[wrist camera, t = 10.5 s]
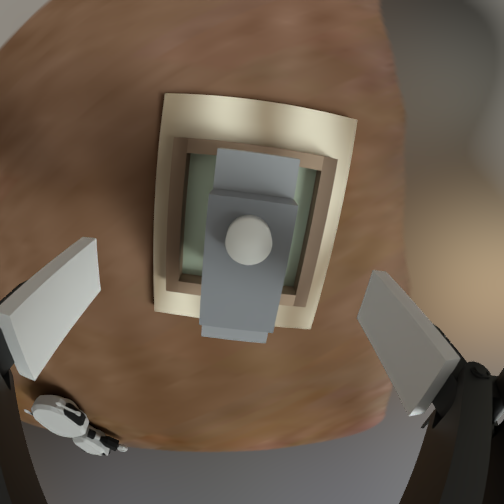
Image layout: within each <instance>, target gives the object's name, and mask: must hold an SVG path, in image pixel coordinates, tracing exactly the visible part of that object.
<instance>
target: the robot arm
mask: <svg viewBox="0 0 504 504" xmlns="http://www.w3.org/2000/svg"><path fill="white" fill-rule="evenodd" d="M100 290H101V288H100V279H99V269H98V257H97V243H96V238H88V237H82V238H81V239H79V240H78V241H77V242H75V243H74V244H73V245H71V246H70V247H69V248H67V249H66V250H65V251H63V252H62V253H61V254H60V255H58V256H57V257H56V258H54V259H53V260H52V261H51V262H49V263H48V264H47V265H46V266H44V267H43V268H42V269H41V270H40V271H38V272H37V273H36V274H35V275H34V276H32V277H31V278H30V279H29V280H27V281H25V282H23V283H21V284H19V285H18V286H17V287H16V288H14V289H13V290H12V292H10V293H9V294H8V295H6V297H4V298H3V299H2V300H1V301H0V504H48V503H47V501H46V499H45V496H44V494H43V491H42V489H41V486H40V484H39V481H38V478H37V475H36V473H35V470H34V467H33V464H32V461H31V457H30V454H29V451H28V448H27V444H26V440H25V436H24V433H23V428H22V424H21V420H20V415H19V410H18V405H17V400H16V394H15V387H14V381H13V375H12V372H11V370H10V368H11V366H12V365H13V364H14V363H15V365H16V368H17V370H18V372H19V374H20V375H22V376H24V377H26V378H29V379H31V380H34V381H35V380H36V379H37V377H38V375H39V374H40V372H41V371H42V369H43V368H44V366H45V365H46V363H47V362H48V360H49V359H50V357H51V356H52V355H53V353H54V352H55V350H56V349H57V347H58V346H59V345H60V343H61V342H62V340H63V339H64V338H65V336H66V335H67V333H68V332H69V331H70V329H71V328H72V327H73V325H74V324H75V323H76V321H77V320H78V319H79V317H80V316H81V315H82V313H83V312H84V311H85V309H86V308H87V307H88V306H89V304H90V303H91V302H92V300H93V299H94V298H95V297H96V295H97V294H98V293H99V292H100ZM357 319H358V321H359V323H360V325H361V326H362V328H363V330H364V332H365V333H366V335H367V337H368V339H369V341H370V343H371V344H372V346H373V348H374V350H375V352H376V354H377V355H378V357H379V359H380V361H381V363H382V365H383V367H384V369H385V371H386V372H387V374H388V376H389V378H390V380H391V382H392V384H393V386H394V388H395V390H396V392H397V394H398V396H399V398H400V400H401V402H402V404H403V406H404V408H405V410H406V412H407V414H408V416H413V415H418V414H423V413H424V412H425V411H426V410H427V408H428V407H429V406H430V404H431V403H433V404H434V406H435V410H434V411H433V412H432V414H431V415H430V416H429V417H428V419H427V420H426V421H425V423H424V424H423V425H422V427H421V428H424V427H425V426H426V425H427V424H428V427H427V431H426V434H425V437H424V441H423V444H422V447H421V450H420V453H419V456H418V458H417V461H416V464H415V467H414V469H413V472H412V475H411V477H410V480H409V482H408V484H407V487H406V489H405V491H404V494H403V496H402V498H401V501H400V503H399V504H504V420H503V421H502V423H501V424H499V425H498V423H497V420H498V419H499V418H500V416H501V415H502V414H503V413H504V368H503V370H502V372H501V373H500V375H499V376H491V375H490V372H489V371H488V370H487V369H486V368H485V367H484V366H483V365H481V364H479V363H477V362H468V363H467V362H466V360H465V359H464V358H463V357H462V355H461V354H460V353H459V352H458V350H457V349H456V348H455V347H454V346H453V344H452V343H450V341H449V339H448V338H447V337H445V335H444V333H443V332H442V331H441V330H440V329H439V328H438V327H437V326H435V325H434V324H432V322H431V321H430V320H429V319H428V318H427V317H426V315H425V314H424V313H423V312H422V311H421V310H420V309H419V308H418V306H417V305H416V304H415V303H414V302H413V301H412V299H411V298H410V297H409V296H408V295H407V294H406V293H405V292H404V291H403V290H402V288H401V287H400V286H399V285H398V284H397V283H396V282H395V281H394V280H393V279H392V278H391V277H390V275H389V274H388V273H387V272H385V271H376V270H373V271H372V274H371V277H370V281H369V284H368V287H367V290H366V293H365V296H364V299H363V302H362V305H361V307H360V310H359V313H358V316H357Z"/></svg>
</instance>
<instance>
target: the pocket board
mask: <svg viewBox="0 0 504 504" xmlns="http://www.w3.org/2000/svg"><path fill="white" fill-rule="evenodd" d="M356 126H357V120H356V119H352V118H348V117H344V116H340V115H336V114H331V113H327V112H322V111H318V110H313V109H308V108H303V107H298V106H292V105H286V104H280V103H274V102H268V101H260V100H253V99H245V98H236V97H226V96H214V95H199V94H176V93H165V97H164V105H163V112H162V120H161V129H160V138H159V148H158V159H157V172H156V187H155V207H154V242H153V273H154V309H155V311H158V312H164V313H170V314H177V315H183V316H190V317H197V318H200V299H201V283H202V268H203V254H204V242H205V230H206V218H207V208H208V198H209V193H210V192H211V191H212V189H213V184H214V175H215V166H216V158H217V149H218V148H227V149H236V150H244V151H252V152H259V153H266V154H273V155H280V156H286V157H292V158H297V159H300V164H299V171H298V177H297V183H296V188H295V194H294V200H295V202H296V203H297V205H298V211H297V217H296V222H295V227H294V233H293V238H292V243H291V248H290V254H289V259H288V264H287V269H286V274H285V279H284V283H283V288H282V293H281V298H280V303H279V307H278V312H277V316H276V321H275V326H276V327H288V328H301V329H311V326H312V322H313V319H314V316H315V312H316V309H317V305H318V302H319V298H320V294H321V291H322V287H323V283H324V280H325V276H326V272H327V268H328V264H329V260H330V256H331V252H332V248H333V244H334V240H335V235H336V231H337V227H338V222H339V218H340V213H341V208H342V204H343V199H344V194H345V189H346V184H347V179H348V173H349V168H350V162H351V157H352V151H353V145H354V139H355V133H356Z"/></svg>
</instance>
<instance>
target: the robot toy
mask: <svg viewBox="0 0 504 504" xmlns="http://www.w3.org/2000/svg"><path fill="white" fill-rule="evenodd" d="M24 411H25V412H26V413H29V414H31V415H33V416H34V418H35V419H36V420H37V421H38V422H39V423H41V424H42V425H43V426H45V427H46V428H47V429H48V430H50V431H51V432H53V433H55V434H58V435H60V436H64V437H71V438H72V439H73V442H74V443H75V444H76V445H77V446H78V447H79V448H80V449H82V450H83V451H84V452H88V453H91V454H97V455H100V456H102V455H108V454H110V449H111V450H114V451H116V449H118V450H119V451H122V452H126V451H127V447H126V446H125V445H121V444H118V443H119V440H116V439H114V438H112V437H110V436H105V433H103V432H102V431H100V430H99V429H98V430H97V429H95V428H93V427H92V426H90V425H88V424H89V420H88V418H87V416H86V414H85V413H84V412H82V411H81V410H80V409H79V408H78V407H77V405H76V404H75V403H74V402H73V401H72V400H70V399H66V398H63V397H60V396H57V395H40V396H39V397H37V398H36V400H35V402H34V404H33V406H32V408H31V411H32V413H31V412H29V411H28V410H24Z"/></svg>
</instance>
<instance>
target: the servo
mask: <svg viewBox="0 0 504 504" xmlns="http://www.w3.org/2000/svg"><path fill="white" fill-rule="evenodd" d="M299 164H300V159H297V158H292V157H286V156H280V155H273V154H266V153H259V152H252V151H244V150H236V149H227V148H218V149H217V158H216V166H215V175H214V184H213V189H212V191H211V192H210V193H209V198H208V208H207V218H206V230H205V242H204V254H203V268H202V283H201V299H200V318H199V325H202V335H201V336H205V337H213V338H220V339H229V340H238V341H247V342H258V343H266V340H267V335H268V333H273V330H274V326H275V321H276V316H277V312H278V307H279V303H280V298H281V293H282V288H283V283H284V279H285V274H286V269H287V264H288V259H289V254H290V248H291V243H292V238H293V233H294V227H295V222H296V217H297V211H298V205H297V203H296V202H295V200H294V194H295V188H296V183H297V177H298V171H299Z"/></svg>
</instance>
